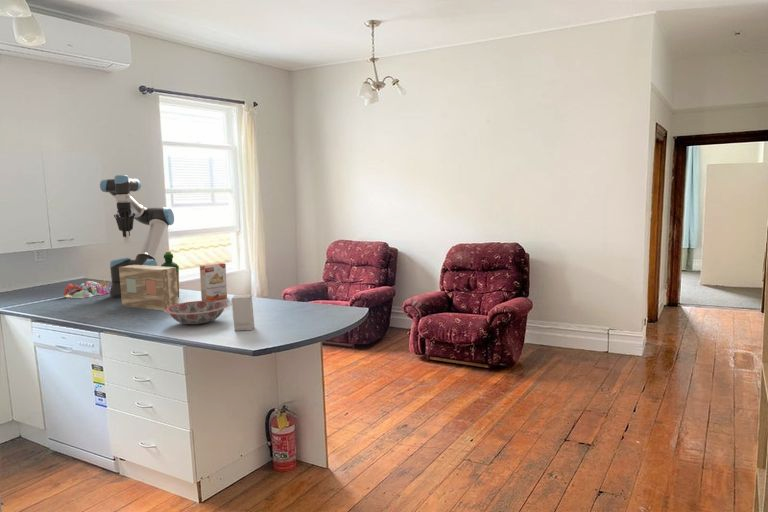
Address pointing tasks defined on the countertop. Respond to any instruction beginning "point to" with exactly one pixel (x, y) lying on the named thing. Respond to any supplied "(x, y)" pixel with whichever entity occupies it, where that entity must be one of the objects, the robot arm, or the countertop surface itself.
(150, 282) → the terracotta button
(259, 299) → the countertop surface
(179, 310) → the ceramic bowl
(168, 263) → the bottle
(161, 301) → the block
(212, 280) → the cracker box
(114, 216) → the robot arm
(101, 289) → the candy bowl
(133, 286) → the sage button
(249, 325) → the skincare box
